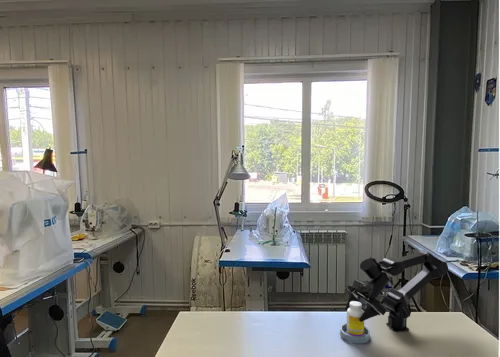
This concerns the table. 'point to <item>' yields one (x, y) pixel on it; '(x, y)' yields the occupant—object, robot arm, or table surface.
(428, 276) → the robot arm
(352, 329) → the supplement bottle
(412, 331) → the table surface
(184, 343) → the table surface
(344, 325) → the round tray
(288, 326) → the table surface
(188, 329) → the table surface
